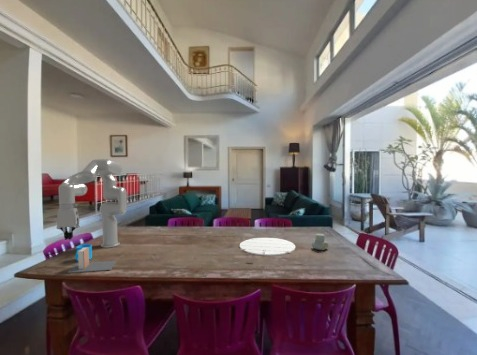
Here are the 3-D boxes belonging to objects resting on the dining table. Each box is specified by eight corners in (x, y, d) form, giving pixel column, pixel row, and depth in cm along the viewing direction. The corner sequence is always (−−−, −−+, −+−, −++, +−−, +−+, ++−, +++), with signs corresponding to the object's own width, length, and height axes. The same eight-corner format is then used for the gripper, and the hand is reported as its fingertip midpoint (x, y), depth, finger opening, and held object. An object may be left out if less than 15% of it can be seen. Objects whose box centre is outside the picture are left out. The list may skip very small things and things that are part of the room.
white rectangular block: (83, 264, 158) (83, 247, 157) (89, 264, 158) (88, 247, 158) (78, 269, 151) (78, 251, 150) (84, 268, 151) (83, 251, 151)
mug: (82, 256, 174) (82, 244, 173) (94, 256, 173) (94, 244, 172) (69, 263, 162) (68, 249, 161) (82, 263, 161) (81, 250, 160)
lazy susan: (295, 258, 168) (295, 252, 168) (234, 254, 176) (233, 249, 176) (295, 240, 207) (295, 236, 207) (244, 238, 215) (244, 233, 215)
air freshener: (319, 252, 179) (319, 237, 179) (309, 248, 186) (309, 234, 186) (330, 249, 185) (330, 234, 185) (320, 246, 192) (320, 232, 192)
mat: (77, 264, 160) (77, 263, 160) (117, 261, 164) (117, 260, 164) (67, 273, 147) (66, 272, 147) (110, 270, 150) (110, 269, 150)
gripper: (84, 205, 156) (86, 236, 157) (55, 205, 154) (56, 237, 155) (79, 207, 149) (80, 240, 150) (48, 208, 146) (50, 241, 147)
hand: (68, 238), depth 152 cm, fingers closed
